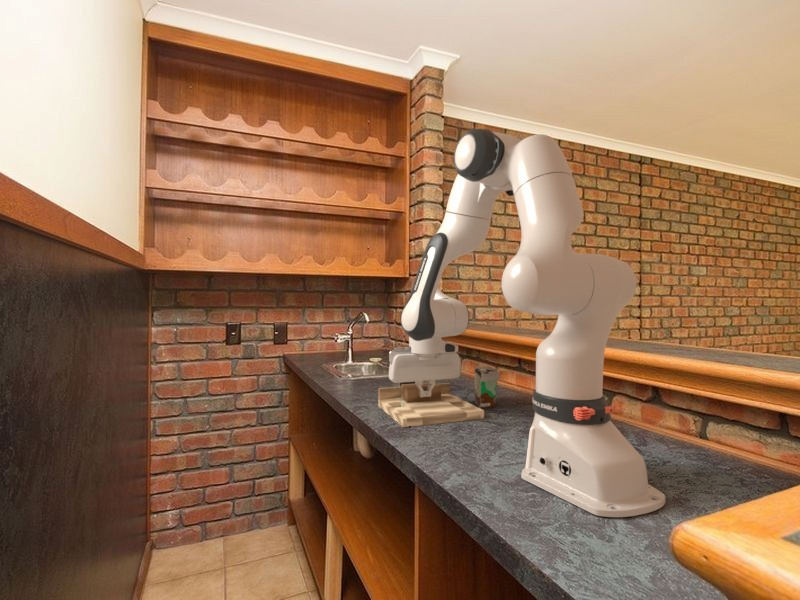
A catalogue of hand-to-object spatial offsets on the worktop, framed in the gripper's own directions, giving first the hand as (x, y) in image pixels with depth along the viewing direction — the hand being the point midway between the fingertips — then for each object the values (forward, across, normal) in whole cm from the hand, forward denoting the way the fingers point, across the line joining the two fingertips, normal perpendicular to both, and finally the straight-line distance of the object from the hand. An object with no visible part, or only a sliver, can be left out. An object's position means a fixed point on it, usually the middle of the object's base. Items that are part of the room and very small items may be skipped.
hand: (425, 396), depth 115 cm
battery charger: (+4, +2, +17) cm, 17 cm away
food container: (+4, +19, -1) cm, 19 cm away
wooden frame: (+4, 0, -2) cm, 4 cm away
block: (+2, 0, +3) cm, 4 cm away
